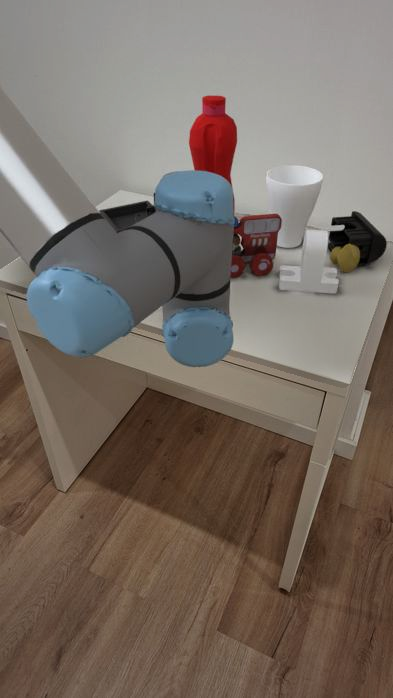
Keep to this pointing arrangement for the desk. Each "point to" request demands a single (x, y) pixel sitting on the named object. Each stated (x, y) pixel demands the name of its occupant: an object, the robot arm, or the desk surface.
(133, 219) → the tray
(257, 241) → the toy fire truck
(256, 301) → the desk surface
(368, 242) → the end cap
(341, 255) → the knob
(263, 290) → the desk surface
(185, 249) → the robot arm
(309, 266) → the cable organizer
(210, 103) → the water bottle
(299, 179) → the cup
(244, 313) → the desk surface
